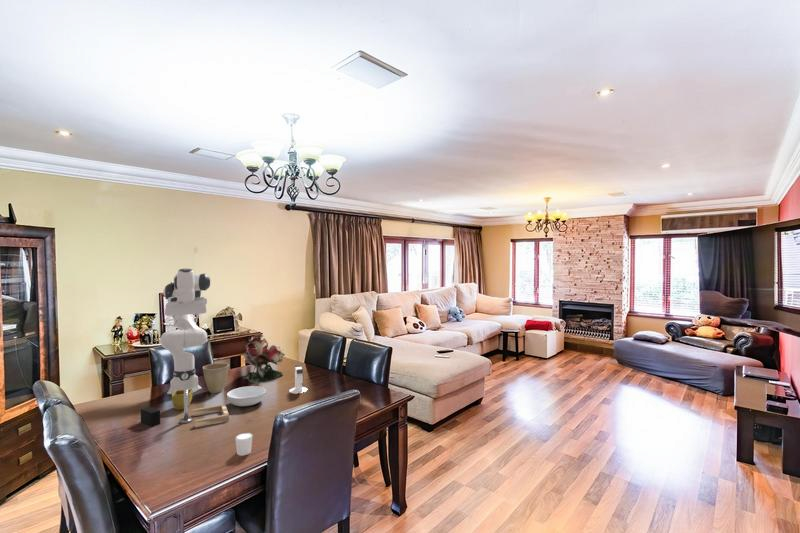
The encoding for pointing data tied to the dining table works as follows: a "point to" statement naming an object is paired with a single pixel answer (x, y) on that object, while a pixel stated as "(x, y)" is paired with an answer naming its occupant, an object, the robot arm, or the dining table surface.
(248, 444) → the shot glass
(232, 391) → the serving bowl
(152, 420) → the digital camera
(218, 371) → the plant pot
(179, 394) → the flower pot
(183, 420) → the hook post
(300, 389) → the white post stand
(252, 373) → the rose bouquet
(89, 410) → the dining table surface
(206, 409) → the wooden frame
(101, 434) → the dining table surface
